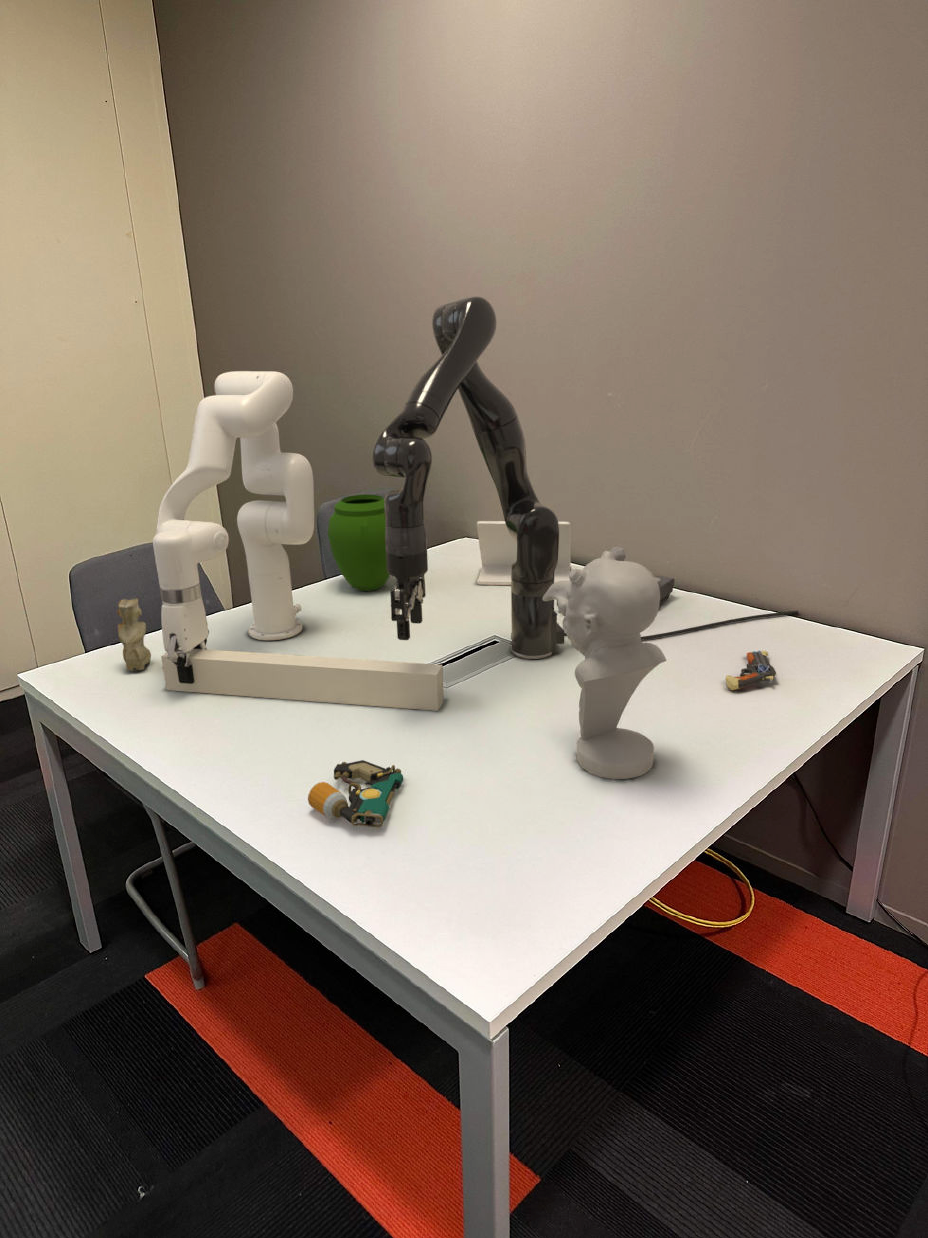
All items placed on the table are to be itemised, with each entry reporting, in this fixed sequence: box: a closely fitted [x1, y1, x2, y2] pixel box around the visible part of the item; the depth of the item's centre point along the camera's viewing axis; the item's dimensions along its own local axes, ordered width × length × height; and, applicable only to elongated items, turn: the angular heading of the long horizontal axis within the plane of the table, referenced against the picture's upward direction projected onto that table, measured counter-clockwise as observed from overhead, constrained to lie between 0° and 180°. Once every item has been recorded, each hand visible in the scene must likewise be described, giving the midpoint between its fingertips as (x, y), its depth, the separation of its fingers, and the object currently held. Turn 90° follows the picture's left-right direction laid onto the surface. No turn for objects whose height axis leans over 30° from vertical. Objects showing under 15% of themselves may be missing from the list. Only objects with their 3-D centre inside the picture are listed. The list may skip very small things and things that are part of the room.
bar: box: [160, 648, 445, 712], centre depth 169 cm, size 57×5×8 cm, turn 77°
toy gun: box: [725, 650, 778, 691], centre depth 173 cm, size 3×19×10 cm
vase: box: [327, 494, 391, 592], centre depth 229 cm, size 20×20×24 cm
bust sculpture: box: [543, 550, 667, 780], centre depth 141 cm, size 16×24×35 cm, turn 28°
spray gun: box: [307, 759, 404, 829], centre depth 133 cm, size 4×17×15 cm
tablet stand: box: [476, 520, 572, 586], centre depth 236 cm, size 18×25×17 cm
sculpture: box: [116, 597, 152, 672], centre depth 183 cm, size 6×7×15 cm
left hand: (193, 676), depth 175 cm, fingers closed on bar, 4 cm apart
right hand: (410, 630), depth 160 cm, fingers open, 8 cm apart
